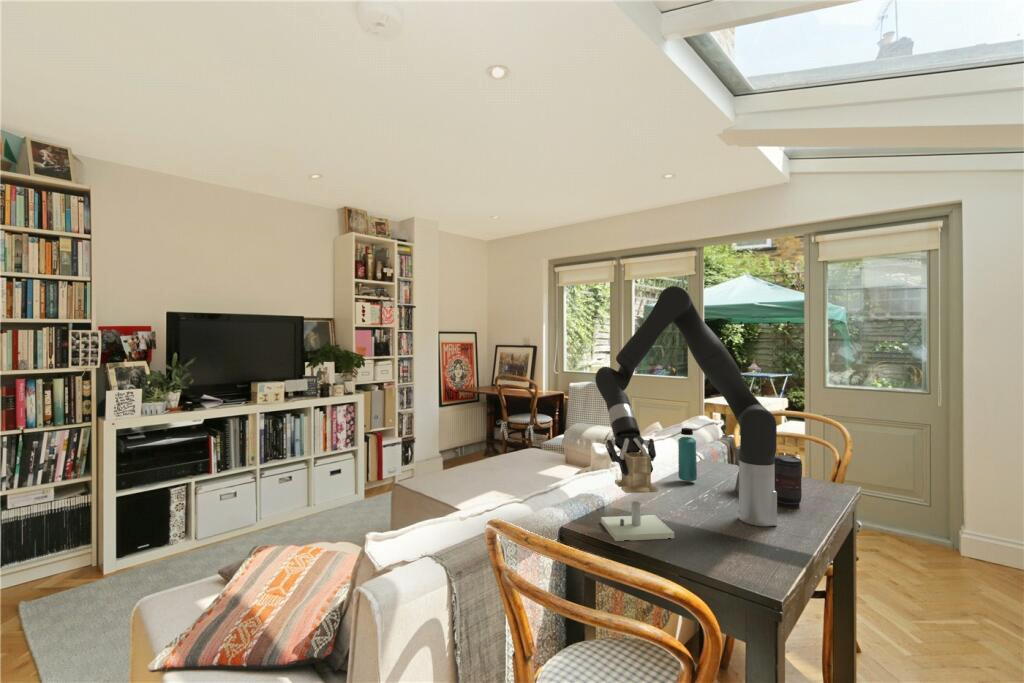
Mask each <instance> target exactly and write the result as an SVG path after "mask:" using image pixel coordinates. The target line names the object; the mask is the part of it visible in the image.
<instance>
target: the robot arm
mask: <svg viewBox="0 0 1024 683" xmlns="http://www.w3.org/2000/svg"><path fill="white" fill-rule="evenodd" d="M650 311H651V312H650V313H649V314H648V316H647V317H646V319H645V320H644V321H643V323H642V324H641V326H640V327H639V328H638V329H637V331H635V332H634V334H633V335H632V336H631V337H630V338H629V339H628V341H627V342H626V343H625V345H623V347H622V348H621V349H620V351H619V352H618V354H617V355H616V357H615V361H616V362H617V363H618V364H619V368H618V370H615V369H613V368H612V367H610V366H602V367H600V368H598V370H597V371H596V374H595V385H596V387H597V389H598V391H599V393H600V396H601V397H602V399H603V400H604V402H605V405H606V409H607V412H608V418H609V425H610V427H611V431H612V435H613V437H614V440H611V439H607V440H606V443H605V449H606V451H607V453H608V456H609V458H610V461H611V462H612V463H618V465H619V469H620V471H621V475H622V474H624V476H627V474H628V468H627V464H626V461H625V460H624V458H625V457H624V454H626V453H629V452H640V453H643V454H646V455H648V456H649V457H651V474H652V473H653V471H654V467H653V463H652V462H653V461H654V460H655V458H656V456H657V453H656V447H655V442H654V439H653V438H649V439H644V438H643V437H642V435H641V432H640V429H639V425H638V423H637V419H636V418H637V417H636V415H635V413H634V410H633V409H632V408H633V407H632V405H631V402H630V399H629V396H628V394H627V393H626V392H625V390H626V389H627V388H628V386H629V384H630V382H631V379H632V377H633V375H634V373H635V370H636V368H637V367H638V366H639V365H640V364H641V362H642V361H643V359H644V358H645V357H646V356H647V355H648V353H649V352H650V350H651V349H652V348H653V346H654V345H655V343H656V341H657V340H658V339H659V337H660V336H661V335H662V333H663V332H664V331H665V330H666V329H667V327H668V326H670V325H671V324H672V323H674V325H675V326H676V327H677V329H678V330H679V331H680V333H681V335H682V337H683V339H684V340H685V342H686V345H687V347H688V349H689V351H690V353H691V355H692V357H693V358H694V361H695V362H696V363H697V365H698V366H699V368H700V369H701V371H702V372H703V374H704V375H705V377H706V379H708V380H709V382H710V383H711V384H712V385H713V386H714V388H715V389H716V390H717V391H718V393H720V394H721V396H722V397H723V398H724V400H725V401H726V403H727V404H728V406H729V408H730V410H731V412H732V414H733V416H734V418H735V420H736V422H737V424H738V426H739V429H740V433H739V435H740V439H739V440H740V441H739V446H740V450H739V466H738V472H739V492H738V519H739V521H741V522H743V523H745V524H748V525H752V526H756V527H771V526H772V527H773V526H774V527H775V526H778V505H777V492H776V491H775V456H776V454H777V437H778V434H777V432H778V431H777V429H778V428H777V419H776V418H775V416H774V414H773V413H772V412H771V411H769V410H768V409H767V408H766V407H765V406H763V405H762V403H761V402H760V401H759V400H758V398H757V397H756V396H755V394H753V392H752V390H750V388H749V387H748V385H747V383H746V381H745V379H744V378H743V374H742V372H741V371H740V368H739V367H738V364H737V363H736V360H734V357H733V356H732V355H731V354H730V352H729V350H728V349H727V347H726V345H724V343H723V342H722V341H721V339H720V338H719V337H718V336H717V334H715V332H714V331H713V330H712V329H711V328H710V327H709V326H708V325H707V324H706V322H704V320H703V318H702V317H701V315H700V313H699V311H698V310H697V308H696V307H695V304H694V302H693V300H692V298H691V295H690V294H689V292H688V291H687V290H686V289H685V288H684V287H682V286H679V285H671V286H668V287H666V288H664V289H663V290H661V293H660V294H659V297H658V298H657V301H656V302H655V304H654V306H653V308H652V310H650ZM643 445H644V446H645V447H644V446H643ZM615 447H616V448H618V450H620V451H619V452H620V453H619V454H618V453H617V451H616V449H615ZM646 449H647V450H646Z"/></svg>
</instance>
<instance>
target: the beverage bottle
mask: <svg viewBox="0 0 1024 683" xmlns="http://www.w3.org/2000/svg"><path fill="white" fill-rule="evenodd" d="M680 434H681V435H683V436H681V437H680V438H678V440H677V442H678V444H677V445H678V458H677V459H678V462H677V463H678V467H677V468H678V473H677V474H678V478H679V480H682V481H684V482H695V481H696V480H697V478H698V475H697V474H698V469H697V464H698V463H697V462H698V460H697V441H696V439H695V438H694V437H691V436H693V435H694V430H693V428H691V427H690V428H689V427H682V428H681V431H680Z"/></svg>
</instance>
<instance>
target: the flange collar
mask: <svg viewBox="0 0 1024 683" xmlns="http://www.w3.org/2000/svg"><path fill="white" fill-rule="evenodd" d="M624 457H625V458H624V460H625V461H626V464H627V468H628V474H627V476H624V474H622V473H621V479H614V484H615V485H616V486H617V487H618V488H620V489H621V491H623V492H624V493H625V494H640V493H641V494H643V493H645V494H646V493H659V488H658V487H657V486H656V485H654V483H652V482H651V481H652V477H651V476H652V473H651V463H652V461H651V457H649V456H648V455H646V454H643V453H640V452H629V453H626V454H624Z"/></svg>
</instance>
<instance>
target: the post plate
mask: <svg viewBox="0 0 1024 683" xmlns="http://www.w3.org/2000/svg"><path fill="white" fill-rule="evenodd" d="M641 509H642V508H641V502H640V501H632V502H631V515H624V516H601V517H600V523H601V525H602V526H603V527H604V528H605V530H606V531H607V532H608V534H610V536H611V537H612V538H613V540H614V541H615V542H622V541H623V542H625V541H624V540H630V541H648V540H665V539H666V540H668V538H671V539H675V531H673V530H672V529H671V528H670V527H668V525H667V524H665V523H664V522H663V521H662V520H661V519H660V518H659V517H657V515H655V514H649V515H648V514H647V515H642V514H641V512H642V510H641Z"/></svg>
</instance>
